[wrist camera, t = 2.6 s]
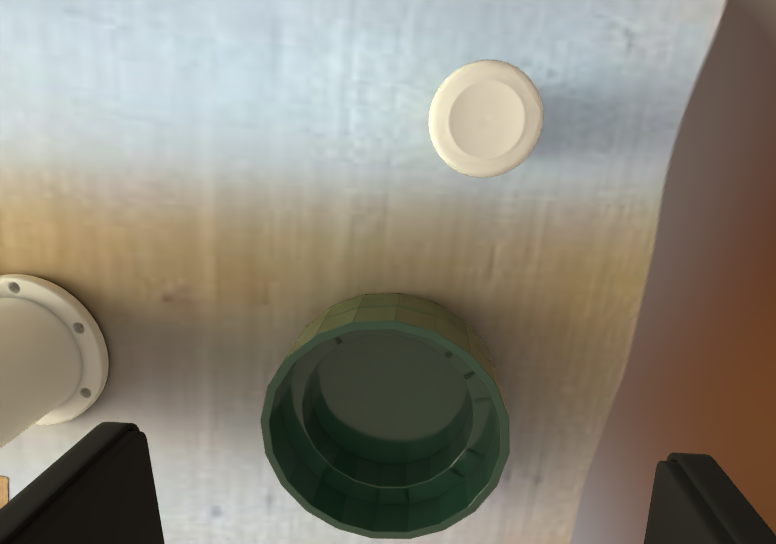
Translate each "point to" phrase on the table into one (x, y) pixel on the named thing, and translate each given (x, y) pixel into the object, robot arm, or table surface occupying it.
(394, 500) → the green round dish
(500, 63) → the sprinkles bottle
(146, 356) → the table surface
